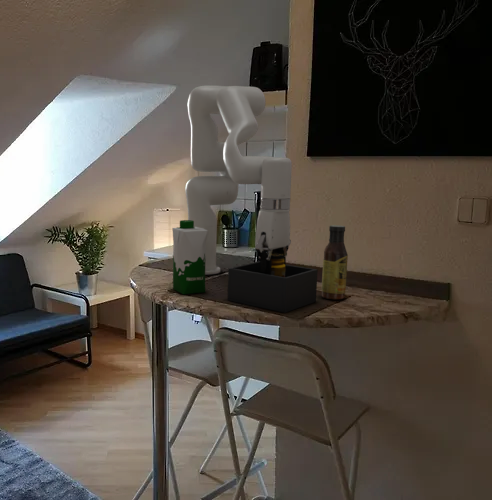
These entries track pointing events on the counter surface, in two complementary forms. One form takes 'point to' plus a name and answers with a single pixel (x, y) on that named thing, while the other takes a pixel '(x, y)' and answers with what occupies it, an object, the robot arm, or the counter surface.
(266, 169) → the robot arm
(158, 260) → the counter surface
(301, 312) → the counter surface
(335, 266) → the sauce bottle
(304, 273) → the dark grey open box
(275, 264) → the condiment
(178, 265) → the milk carton
